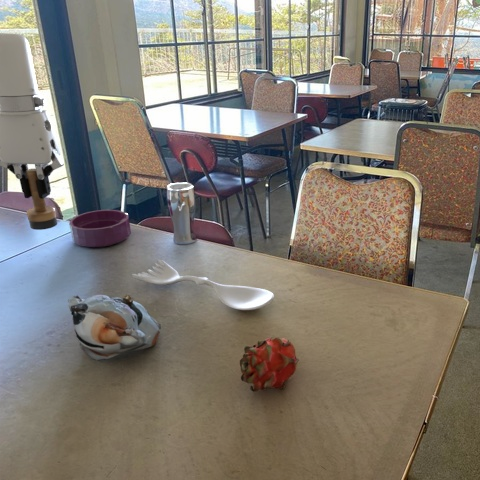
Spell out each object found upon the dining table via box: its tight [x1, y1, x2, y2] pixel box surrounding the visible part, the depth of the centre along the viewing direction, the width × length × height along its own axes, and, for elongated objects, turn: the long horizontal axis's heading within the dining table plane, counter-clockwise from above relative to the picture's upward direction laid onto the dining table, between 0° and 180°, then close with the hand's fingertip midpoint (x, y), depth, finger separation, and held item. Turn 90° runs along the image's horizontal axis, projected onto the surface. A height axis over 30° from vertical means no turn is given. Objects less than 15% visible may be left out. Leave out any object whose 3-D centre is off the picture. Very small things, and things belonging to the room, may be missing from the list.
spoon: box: [131, 258, 275, 311], centre depth 102 cm, size 9×32×4 cm, turn 66°
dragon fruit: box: [239, 336, 299, 393], centre depth 77 cm, size 8×8×12 cm
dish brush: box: [26, 168, 58, 231], centre depth 99 cm, size 5×5×12 cm
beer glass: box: [166, 182, 198, 246], centre depth 125 cm, size 7×7×15 cm
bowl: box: [69, 209, 132, 248], centre depth 127 cm, size 14×14×6 cm
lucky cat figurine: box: [67, 294, 162, 361], centre depth 82 cm, size 15×12×14 cm
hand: (37, 195), depth 98 cm, fingers closed on dish brush
